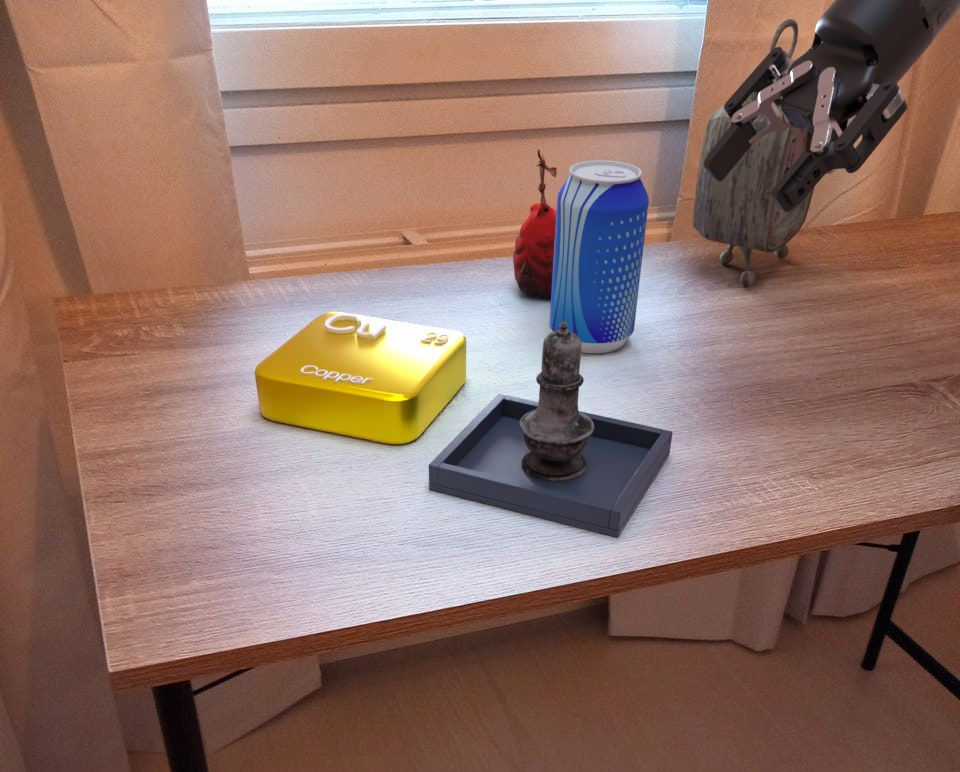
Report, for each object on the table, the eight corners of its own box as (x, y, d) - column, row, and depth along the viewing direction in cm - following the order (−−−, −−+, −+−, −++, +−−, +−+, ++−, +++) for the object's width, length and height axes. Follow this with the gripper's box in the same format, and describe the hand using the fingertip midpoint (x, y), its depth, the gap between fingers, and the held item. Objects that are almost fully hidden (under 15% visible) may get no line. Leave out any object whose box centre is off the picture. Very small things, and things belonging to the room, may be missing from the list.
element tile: (251, 418, 89) (243, 366, 86) (329, 351, 99) (325, 303, 96) (410, 450, 85) (408, 397, 82) (472, 376, 96) (473, 327, 93)
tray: (669, 454, 85) (673, 431, 83) (617, 537, 75) (620, 512, 74) (497, 416, 90) (498, 393, 88) (428, 489, 80) (428, 464, 79)
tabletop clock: (754, 295, 112) (804, 34, 96) (679, 278, 116) (714, 24, 100) (799, 257, 122) (851, 14, 106) (728, 242, 125) (768, 5, 109)
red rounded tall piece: (590, 290, 113) (603, 144, 103) (551, 308, 108) (561, 158, 99) (536, 273, 116) (543, 130, 107) (497, 290, 112) (500, 143, 103)
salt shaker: (505, 454, 83) (510, 311, 76) (569, 441, 85) (580, 300, 77) (537, 489, 79) (545, 341, 71) (603, 474, 81) (618, 329, 73)
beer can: (591, 364, 98) (607, 189, 88) (531, 336, 103) (539, 167, 93) (649, 341, 102) (671, 172, 92) (589, 315, 107) (603, 152, 97)
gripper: (811, -46, 78) (666, 133, 81) (953, -22, 68) (781, 180, 71) (849, 30, 83) (711, 195, 86) (985, 62, 73) (824, 247, 76)
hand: (743, 188), depth 79 cm, fingers open, 8 cm apart
